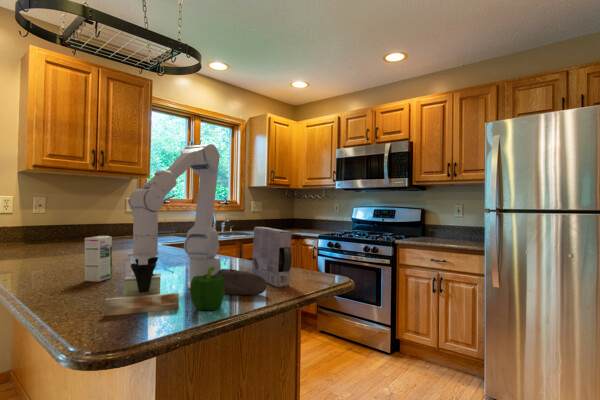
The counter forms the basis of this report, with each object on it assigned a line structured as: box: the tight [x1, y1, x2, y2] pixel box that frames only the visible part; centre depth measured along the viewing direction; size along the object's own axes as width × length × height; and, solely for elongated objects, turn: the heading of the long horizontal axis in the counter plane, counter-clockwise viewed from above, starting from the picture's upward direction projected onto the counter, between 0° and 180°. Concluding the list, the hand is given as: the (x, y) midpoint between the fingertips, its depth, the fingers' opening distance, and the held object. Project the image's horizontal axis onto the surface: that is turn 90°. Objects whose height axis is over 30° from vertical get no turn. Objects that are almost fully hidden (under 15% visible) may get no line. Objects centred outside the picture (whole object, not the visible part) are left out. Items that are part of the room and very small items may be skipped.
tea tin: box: [123, 273, 161, 297], centre depth 86 cm, size 8×5×6 cm, turn 110°
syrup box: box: [84, 235, 113, 283], centre depth 113 cm, size 6×6×14 cm
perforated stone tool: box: [216, 268, 268, 296], centre depth 96 cm, size 15×5×7 cm, turn 75°
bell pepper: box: [190, 266, 225, 311], centre depth 83 cm, size 8×8×10 cm
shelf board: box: [104, 292, 180, 317], centre depth 85 cm, size 16×11×4 cm
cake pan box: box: [251, 226, 293, 288], centre depth 112 cm, size 19×5×18 cm, turn 34°
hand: (145, 288), depth 86 cm, fingers open, 7 cm apart
